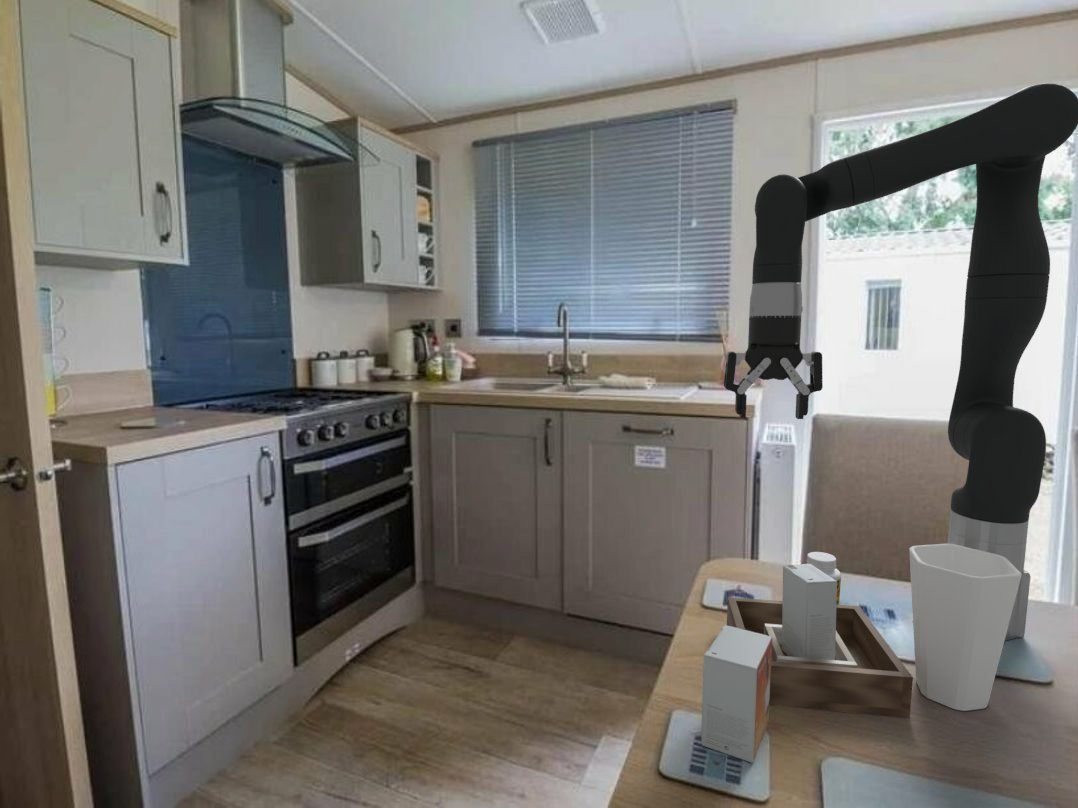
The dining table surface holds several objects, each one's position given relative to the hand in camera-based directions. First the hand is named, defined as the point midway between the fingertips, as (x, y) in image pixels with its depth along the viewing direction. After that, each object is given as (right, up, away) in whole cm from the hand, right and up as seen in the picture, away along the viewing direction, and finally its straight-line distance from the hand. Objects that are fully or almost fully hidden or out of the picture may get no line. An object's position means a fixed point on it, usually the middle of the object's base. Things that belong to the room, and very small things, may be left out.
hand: (770, 418), depth 97 cm
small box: (-15, -35, -29) cm, 47 cm away
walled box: (-1, -33, -16) cm, 36 cm away
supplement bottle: (+6, -31, -3) cm, 32 cm away
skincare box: (-1, -32, -16) cm, 35 cm away
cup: (+14, -33, -22) cm, 42 cm away
